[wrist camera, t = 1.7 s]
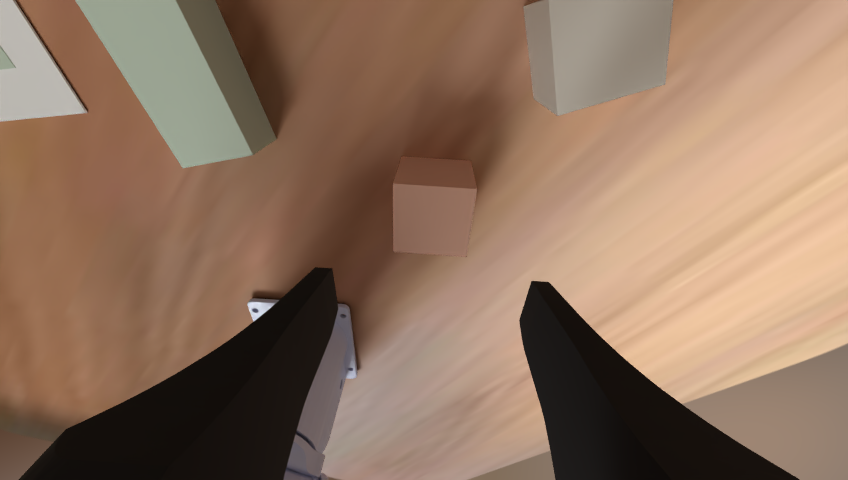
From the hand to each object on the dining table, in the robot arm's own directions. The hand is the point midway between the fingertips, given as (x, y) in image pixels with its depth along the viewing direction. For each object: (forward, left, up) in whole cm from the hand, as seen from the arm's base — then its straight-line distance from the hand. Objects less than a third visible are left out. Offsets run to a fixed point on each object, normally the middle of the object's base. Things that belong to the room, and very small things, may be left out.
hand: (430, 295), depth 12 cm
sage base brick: (+6, +12, -10) cm, 16 cm away
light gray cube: (+8, -6, -9) cm, 14 cm away
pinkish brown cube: (0, 0, -9) cm, 9 cm away
